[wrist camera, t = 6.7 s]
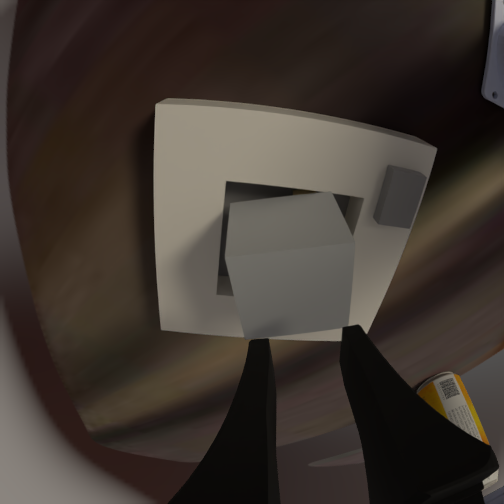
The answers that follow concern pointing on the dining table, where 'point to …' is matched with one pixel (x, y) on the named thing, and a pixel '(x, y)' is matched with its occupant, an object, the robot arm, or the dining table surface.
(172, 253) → the socket
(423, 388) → the yellow supplement bottle
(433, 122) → the dining table surface
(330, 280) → the plug
